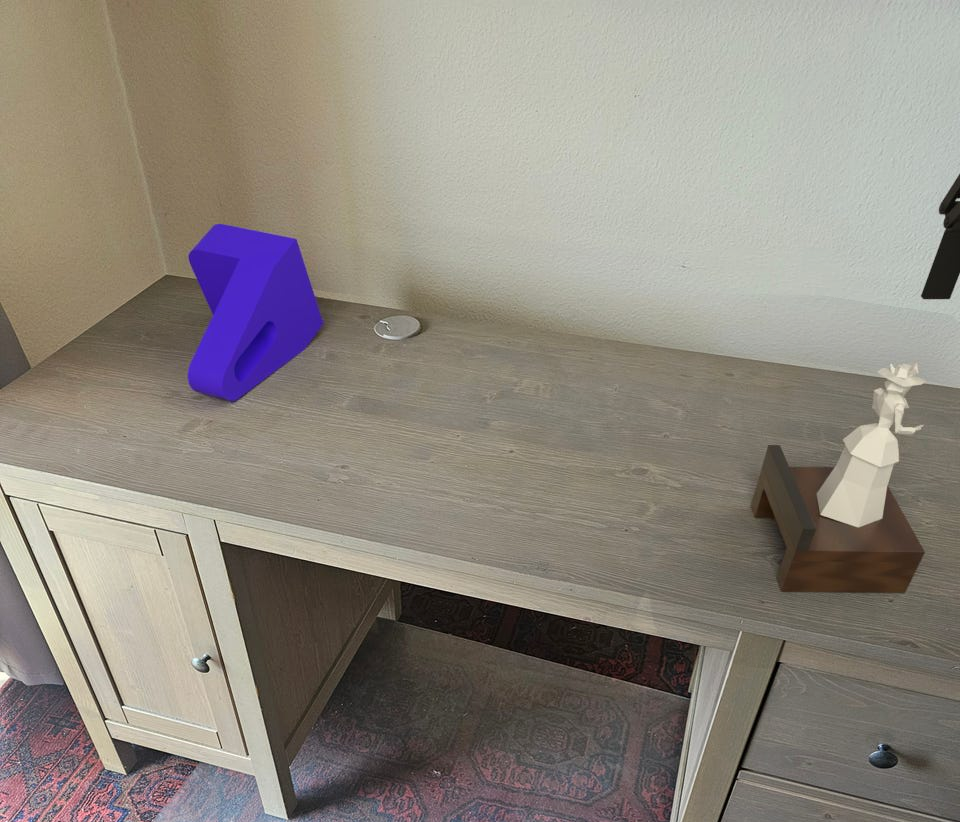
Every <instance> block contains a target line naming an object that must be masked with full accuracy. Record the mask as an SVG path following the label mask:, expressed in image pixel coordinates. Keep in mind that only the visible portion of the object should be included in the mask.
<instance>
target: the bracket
mask: <svg viewBox="0 0 960 822" xmlns="http://www.w3.org/2000/svg"><path fill="white" fill-rule="evenodd" d="M297 239H298V238H295V237H289V236H284V235H279V234H275V233H269V232H264V231H260V230H259V231H258V230H254V229H248V228H244V227H239V226H234V225H230V224H224V223H215V224H214V225H212V227H211V228H210V229H209V230H208V231H207V232H206V233H205V234H204V235H203V236H202V238H201V239H200V240H199V241H198V242H197V243H196V244H195V246H194V247H193V248H192V249H191V251H189V253H188V262H189V265H190V267H191V269H192V272H193V274H194V276H195V278H196V281H197V283H198V285H199V287H200V289H201V291H202V294H203V296H204V299H205V300H206V303H207V306H208V307H209V309H210V311H211V314H212V317H211V319H210V322H209V324H208V326H207V327H206V330H205V332H204V334H203V336H202V338H201V340H200V342H199V345H198V347H197V349H196V351H195V352H194V355H193V357H192V359H191V362H190V364H189V366H188V369H187V381H188V384H189V387H190V388H191V390H192V391H194V392H196V393H200V394H204V395H207V396H211V397H214V398H218V399H221V400H225V401H230V402H234V401H237V400H239V399H240V398H241V397H242V396H244V395H245V394H246V393H248V392H249V391H251V390H252V389H253V388H254V387H256V386H258V385H259V384H260V383H262V382H264V381H265V379H267V378H268V377H270V376H271V375H273V374H274V373H275V372H276V371H278V370H279V369H280V368H281V367H283V366H285V365H286V364H287V363H288V362H289V361H291V360H292V359H294V358H295V357H296V356H298V355H299V354H301V353H302V352H304V350H305V349H306V348H307V347H308V345H309V344H310V343H311V341H312V340H313V339H314V337H315V336H316V334H317V333H318V332H319V331H320V329H321V328H322V326H323V325H324V320H323V317H322V314H321V311H320V308H319V304H318V302H317V299H316V295H315V292H314V289H313V286H312V283H311V279H310V277H309V274H308V270H307V267H306V263H305V260H304V258H303V255H302V252H301V248H300V246H299V242H298V240H297Z"/></svg>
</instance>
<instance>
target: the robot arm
mask: <svg viewBox="0 0 960 822" xmlns="http://www.w3.org/2000/svg"><path fill="white" fill-rule="evenodd" d="M958 199H960V173H959V174H958V175H957V177H956V179H955V180H954V182H953V183H952V185H951V186H950V188H949V190H948V191H947V193H946V194H945V196H944V198H942V200H941V202H940V204H939V207H938V214H939V215H940V216H941V215H942V216H943V215H944V218H943V224H942V225H943V229H944V231H943V234H942V236H941V240H940V242H939V245H938V249H937V250H936V254H935V256H934V259H933V261H932V265H931V267H930V270H929V273H928V275H927V278H926V281H925V284H924V286H923V289H922V291H921V294H920V297H921V298H922V300H951V297H952V295H953V292H954V290H955V287H956V286H957V285H956V284H957V282H958V279H959V277H960V200H958Z"/></svg>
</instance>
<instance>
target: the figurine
mask: <svg viewBox="0 0 960 822" xmlns="http://www.w3.org/2000/svg"><path fill="white" fill-rule="evenodd" d="M877 373H878V374H879V375H881V376H882V377H884V378H885V379H887V380H886V381H885V382H883V384H884V386H885V388H882V387H879V388H876V389H873V398H872V399H873V400H872V405H871V408H872V409H873V411H874V412H875V414H876V415H877V416H878V418H879V419H878V423H876V422H875V423H874V422H873V423H867V424H863V425H859V426H858V427H857V428H856V429H854V430H853V431H852V432H850V433H848V435H846V436H845V437H844V438H843V439H842V441H843V443H844V445H845V446H844V448H843V450H842V452H841V454H840V457H839V458H838V460H837V462H836V465H835V466H834V467H835V468H834V469H833V471H832V472H831V473H830V475H829V476H828V478H827V479H826V481H825V482H824V484H823V485H822V487H821V488H820V489H819V491H818V492H817V499H818V505H819V511H820V515H822V516H825V517H828V518H831V519H834V520H837V521H840V522H843V523H846V524H849V525H852V526H855V527H861V526H864V525H866V524H869V523H872V522H875V521H877V520H880V519H882V516H883V510H884V504H885V497H886V491H887V485H888V486H889V482H890V479H891V476H892V472H893V468H894V465H895V464H896V463H899V462H900V451H899V450H900V449H899V442H898V439H897V437H896V436H895V435H894V434H893V433H892V432H891V430H890V429H891V427H892V426H893V424H894V433H895V434H902V435H914V434H915V433H916V432H919V431H920V430H922V427H924V424H920V425H916V426H914V427H908V426H907V427H905V426H903V425H902V421H903V416H904V415H905V409H909V408H910V406H909V404H908V401H907V399H906V398H905V395H906V394H907V393H908V391H909V390H911V388H913V386H921V385H923V384H925V383H926V382H927V381H926V380H925V379H922V378H921V377H919V376H917V375H918V374H919V368H918V362H915V363H914V364H909V363H906V361H904V362H903V363H902V364H898V365H897V366H896V367H895V366H893V364H892V363H890V368H887V367H882V368H880V369H879V370H878V371H877Z"/></svg>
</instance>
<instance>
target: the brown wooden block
mask: <svg viewBox="0 0 960 822" xmlns="http://www.w3.org/2000/svg"><path fill="white" fill-rule="evenodd" d="M761 465H762V466H761V469H760V473H759V476H758V478H757V479H758V480H757V483H756V486H755V490H754V494H753V497H752V501H751V503H750V508H751V512H752V514H753V517H754V518H755V519H775V521H776V524H777V526H778V529H779V532H780V534H781V536H782V538H783V542H784V544H785V547H786V548H785V552H784V554H783V558H782V561H781V563H780V566H779V569H778V572H777V575H776V580H777V583H778V586H779V590H780V592H781V593H853V594H854V593H855V594H856V593H861V594H862V593H863V594H865V593H866V594H867V593H868V594H905V593H906V592H907V590H908V588H909V586H910V584H911V581H912V580H913V578H914V576H915V574H916V572H917V569H918V567H919V565H920V564H921V561H922V560H923V558H924V556H925V554H926V551H925V549H924V548H923V545H922V544H921V542H920V540H919V539H918V537H917V535H916V533H915V531H914V530H913V528H912V526H911V525H910V523H909V521H908V519H907V517H906V515H905V514H904V512H903V509H902V508H901V507H900V505H899V503H898V501H897V499H896V498H895V496H894V494H893V493H892V491H891V489H890V487H889V484H888V485H887V491H886V497H885V504H884V510H883V516H882V519H880V520H877V521H875V522H872V523H869V524H866V525H864V526H861V527H855V526H852V525H849V524H846V523H843V522H840V521H837V520H834V519H831V518H828V517H825V516H822V515H820V511H819V505H818V499H817V492H818V491H819V489H820V488H821V487H822V485H823V484H824V482H825V481H826V479H827V478H828V476H829V475H830V473H831V472H832V471H833V469H834V468H835V466H789V462H788V461H787V458H786V456H785V453H784V451H783V449H782V447H781V445H780V444H768V445H767V447H766V451H765V455H764V458H763V462H762V464H761Z"/></svg>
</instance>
